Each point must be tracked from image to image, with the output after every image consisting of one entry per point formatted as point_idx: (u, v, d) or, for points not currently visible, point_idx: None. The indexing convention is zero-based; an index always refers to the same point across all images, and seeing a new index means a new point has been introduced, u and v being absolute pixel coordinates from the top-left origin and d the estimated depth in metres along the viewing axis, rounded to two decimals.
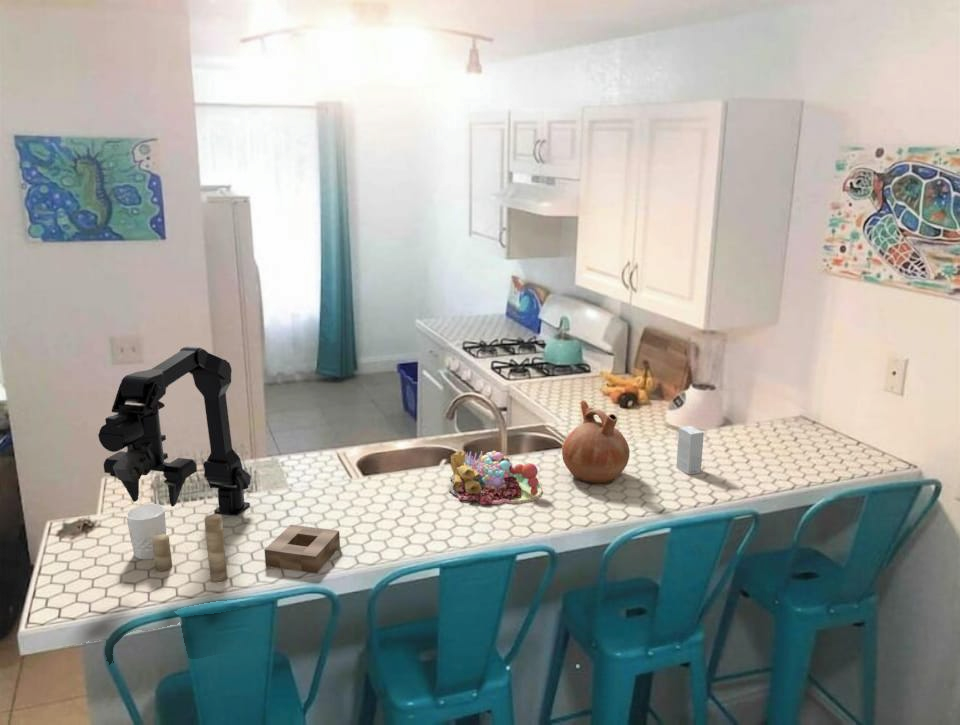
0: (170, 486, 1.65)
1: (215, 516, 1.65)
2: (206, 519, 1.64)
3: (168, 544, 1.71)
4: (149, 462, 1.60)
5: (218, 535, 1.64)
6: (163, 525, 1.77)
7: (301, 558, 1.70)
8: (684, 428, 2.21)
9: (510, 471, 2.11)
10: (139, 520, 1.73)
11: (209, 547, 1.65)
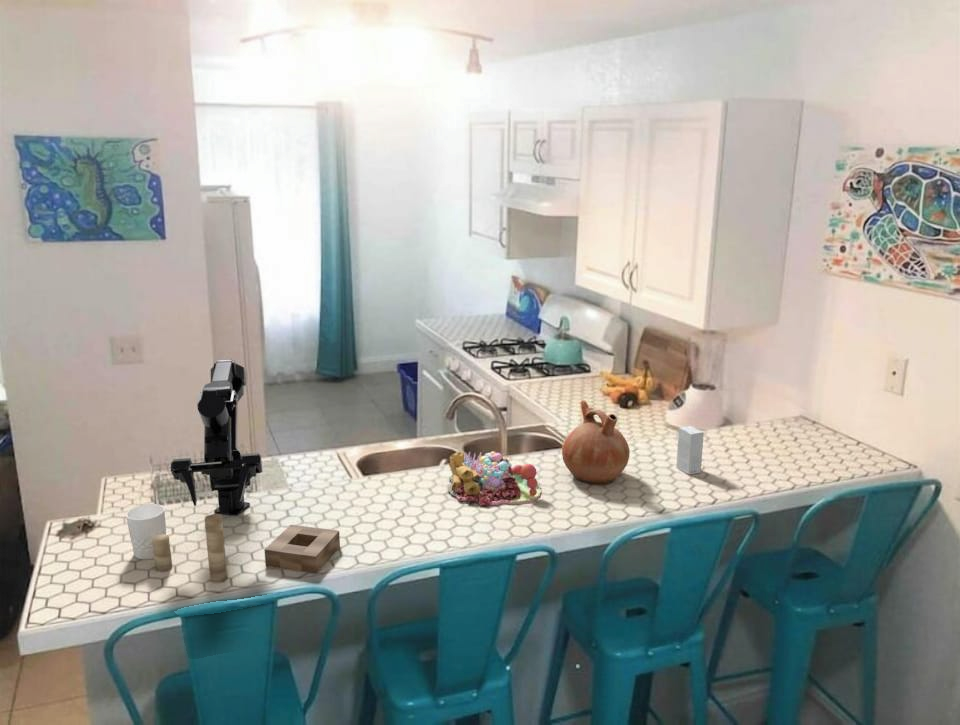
0: None
1: (215, 516, 1.65)
2: (206, 519, 1.64)
3: (168, 544, 1.71)
4: (201, 462, 1.82)
5: (218, 535, 1.64)
6: (163, 525, 1.77)
7: (301, 558, 1.70)
8: (684, 428, 2.21)
9: (509, 472, 2.11)
10: (139, 520, 1.73)
11: (209, 547, 1.65)
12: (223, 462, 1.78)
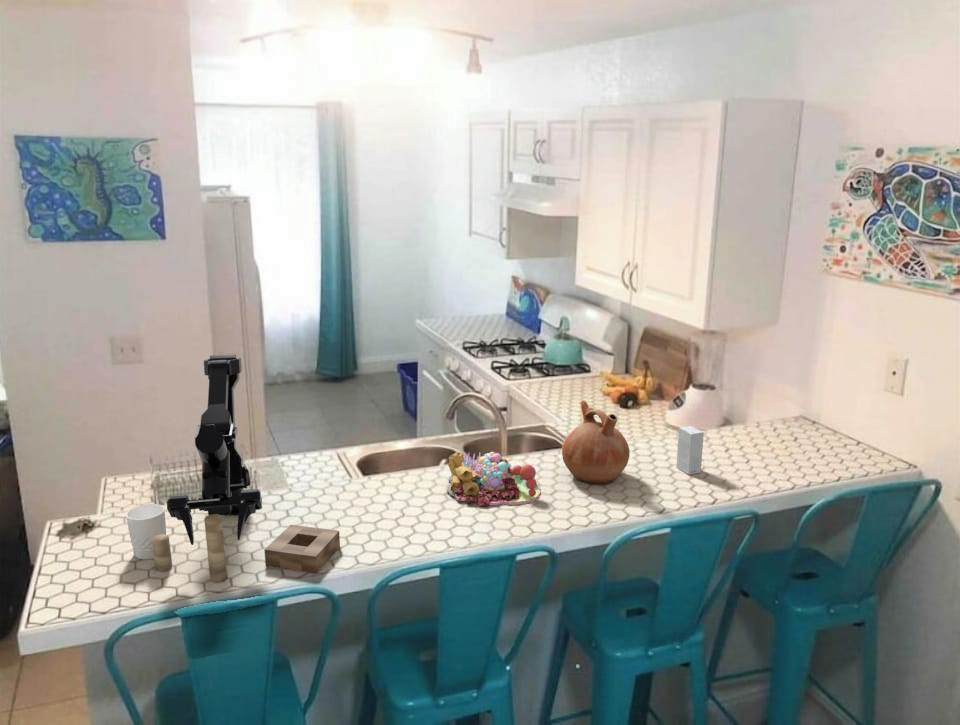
0: None
1: (215, 516, 1.65)
2: (206, 519, 1.64)
3: (168, 544, 1.71)
4: (198, 498, 1.76)
5: (218, 535, 1.64)
6: (163, 525, 1.77)
7: (301, 558, 1.70)
8: (684, 428, 2.21)
9: (508, 472, 2.10)
10: (139, 520, 1.73)
11: (209, 547, 1.65)
12: (221, 498, 1.72)
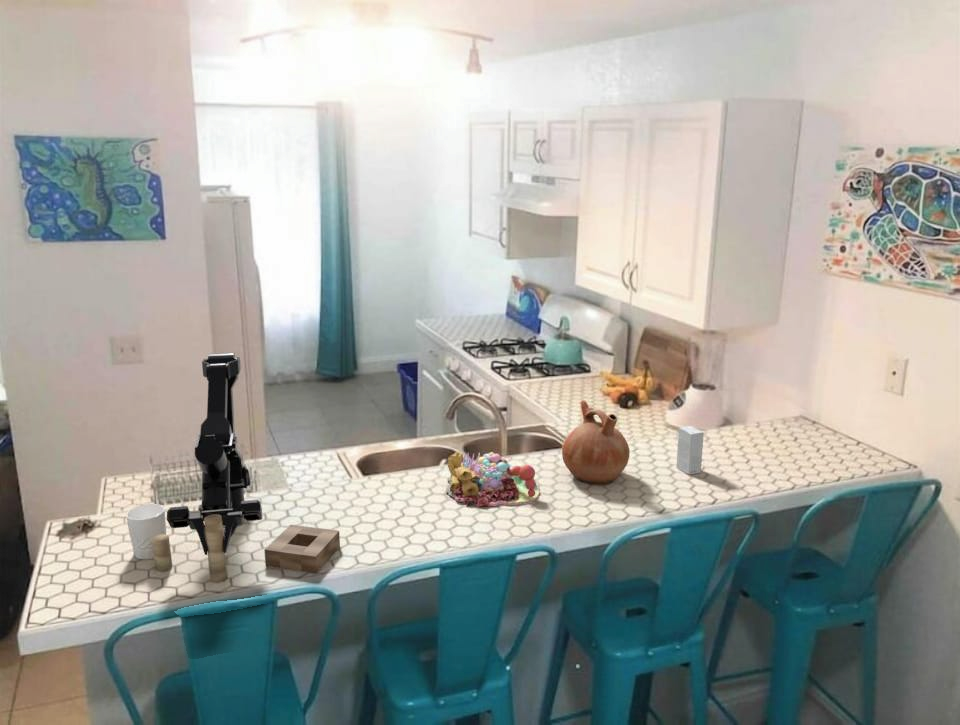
0: None
1: (215, 516, 1.65)
2: (206, 519, 1.64)
3: (168, 544, 1.71)
4: None
5: (217, 535, 1.64)
6: (163, 525, 1.77)
7: (301, 558, 1.70)
8: (684, 428, 2.21)
9: (508, 473, 2.10)
10: (139, 520, 1.73)
11: (209, 547, 1.65)
12: (221, 509, 1.71)
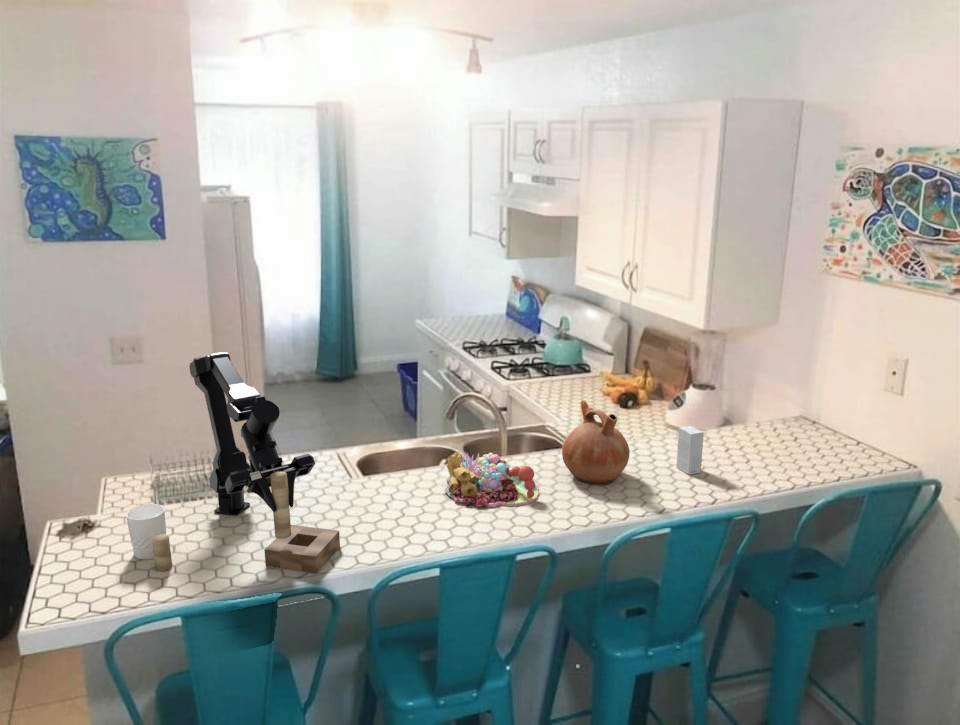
0: None
1: (279, 473, 1.69)
2: (273, 476, 1.68)
3: (168, 544, 1.71)
4: None
5: (286, 490, 1.69)
6: (163, 525, 1.77)
7: (301, 558, 1.70)
8: (684, 428, 2.21)
9: (507, 473, 2.10)
10: (139, 520, 1.73)
11: (277, 504, 1.69)
12: (272, 469, 1.75)
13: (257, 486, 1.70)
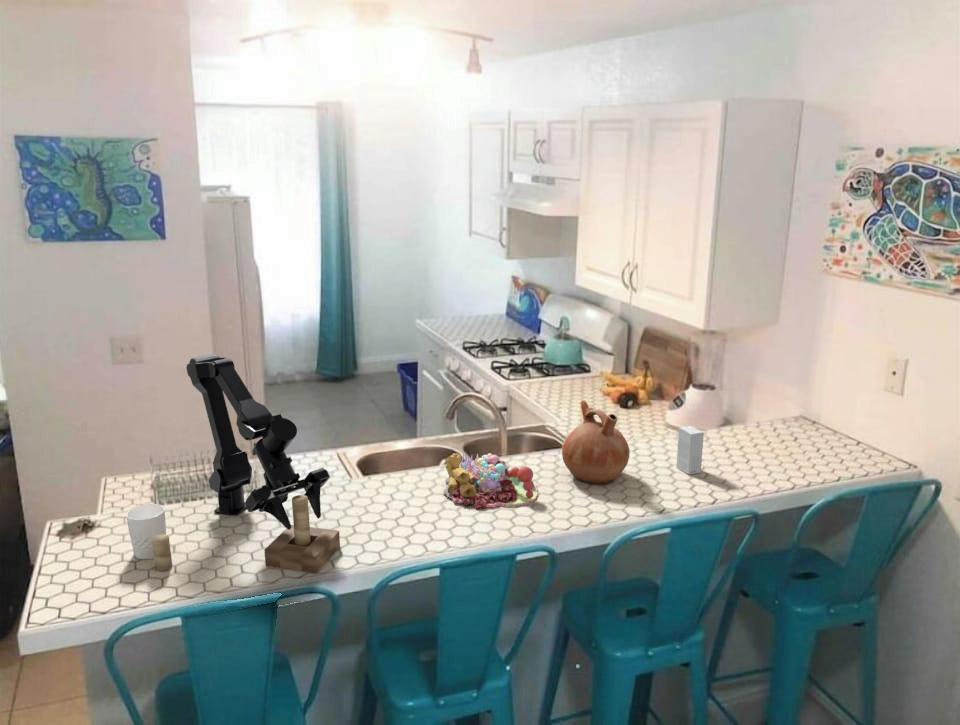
0: None
1: (300, 497, 1.74)
2: (295, 500, 1.72)
3: (168, 544, 1.71)
4: None
5: (307, 513, 1.74)
6: (163, 525, 1.77)
7: (301, 558, 1.70)
8: (684, 428, 2.21)
9: (506, 474, 2.09)
10: (139, 520, 1.73)
11: (300, 527, 1.74)
12: (288, 485, 1.79)
13: (269, 505, 1.72)
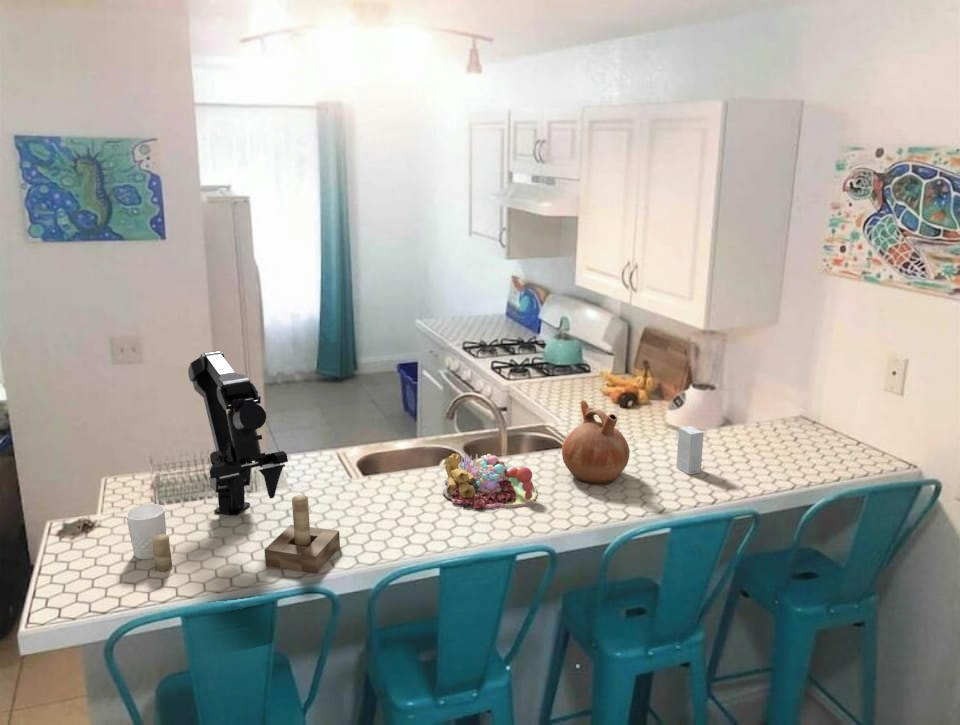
0: None
1: (300, 497, 1.74)
2: (295, 500, 1.72)
3: (168, 544, 1.71)
4: (215, 456, 1.79)
5: (307, 513, 1.74)
6: (163, 525, 1.77)
7: (301, 558, 1.70)
8: (684, 428, 2.21)
9: (505, 475, 2.09)
10: (139, 520, 1.73)
11: (300, 527, 1.74)
12: None
13: (230, 478, 1.74)
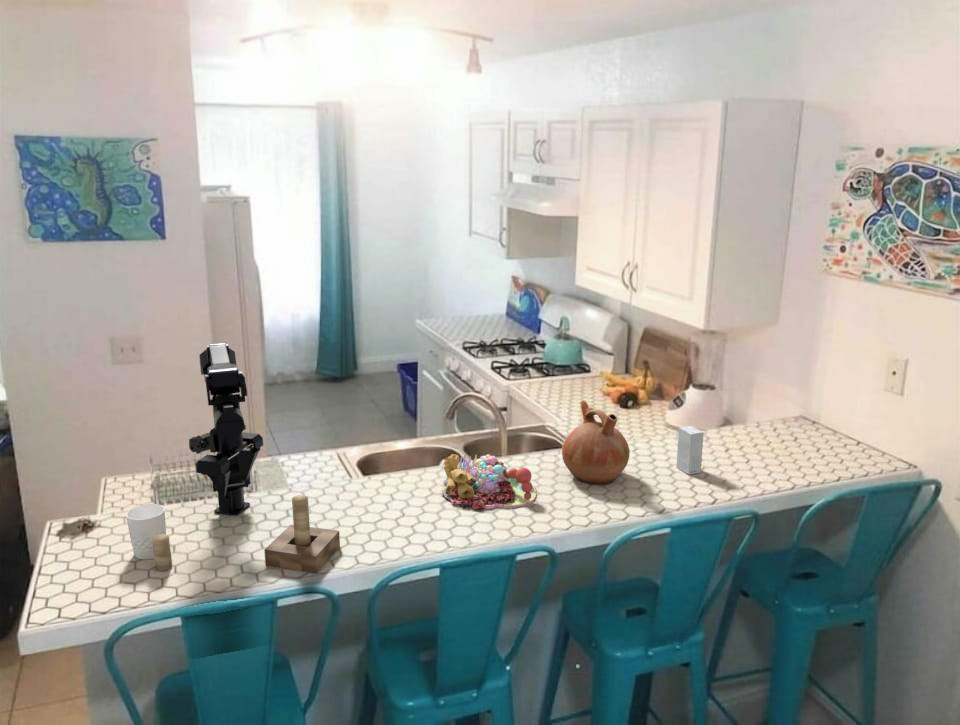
0: None
1: (300, 497, 1.74)
2: (296, 500, 1.72)
3: (168, 544, 1.71)
4: (196, 442, 1.75)
5: (307, 513, 1.74)
6: (163, 525, 1.77)
7: (301, 558, 1.70)
8: (684, 428, 2.21)
9: (504, 475, 2.08)
10: (139, 520, 1.73)
11: (300, 527, 1.74)
12: None
13: None
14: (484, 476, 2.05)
